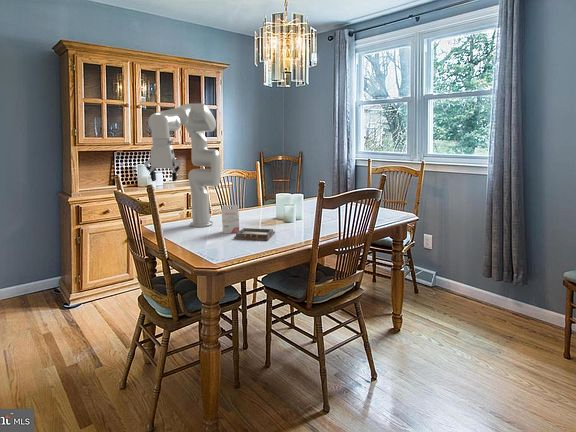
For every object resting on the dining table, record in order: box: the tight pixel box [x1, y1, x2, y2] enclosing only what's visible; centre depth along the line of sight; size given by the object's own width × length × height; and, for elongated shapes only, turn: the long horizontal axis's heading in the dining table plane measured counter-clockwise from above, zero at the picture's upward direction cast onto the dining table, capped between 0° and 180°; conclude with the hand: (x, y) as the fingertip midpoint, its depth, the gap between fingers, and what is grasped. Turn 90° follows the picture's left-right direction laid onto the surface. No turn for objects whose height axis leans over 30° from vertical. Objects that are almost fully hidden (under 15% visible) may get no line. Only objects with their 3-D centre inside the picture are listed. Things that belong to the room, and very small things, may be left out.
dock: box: [233, 227, 276, 242], centre depth 215 cm, size 15×17×3 cm
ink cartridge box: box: [221, 204, 240, 234], centre depth 223 cm, size 9×5×15 cm, turn 101°
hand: (164, 181), depth 194 cm, fingers open, 9 cm apart
